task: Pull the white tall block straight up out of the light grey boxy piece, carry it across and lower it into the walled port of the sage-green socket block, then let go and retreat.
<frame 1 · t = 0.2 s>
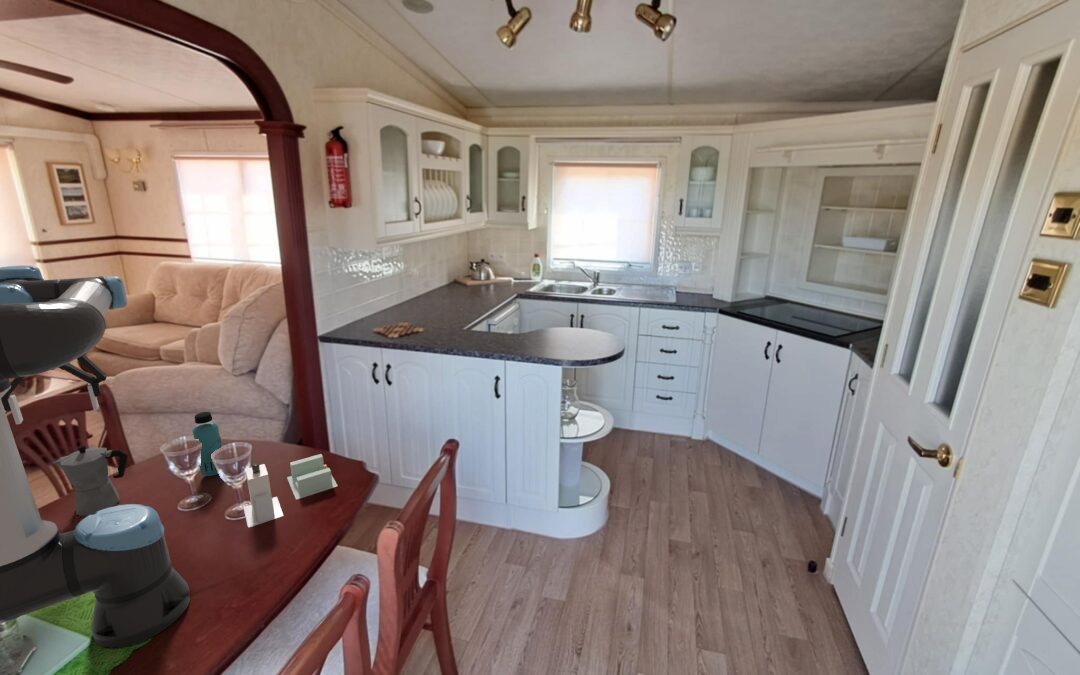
hand: (59, 415, 116), 28 cm above the table, fingers open, 13 cm apart
port: (312, 484, 138), on the table
beverage bottle: (214, 475, 142), on the table
coffeepot: (103, 505, 127), on the table
light grey boxy piece: (263, 514, 125), on the table
white tall block: (263, 511, 125), point 1 cm above the table, touching light grey boxy piece
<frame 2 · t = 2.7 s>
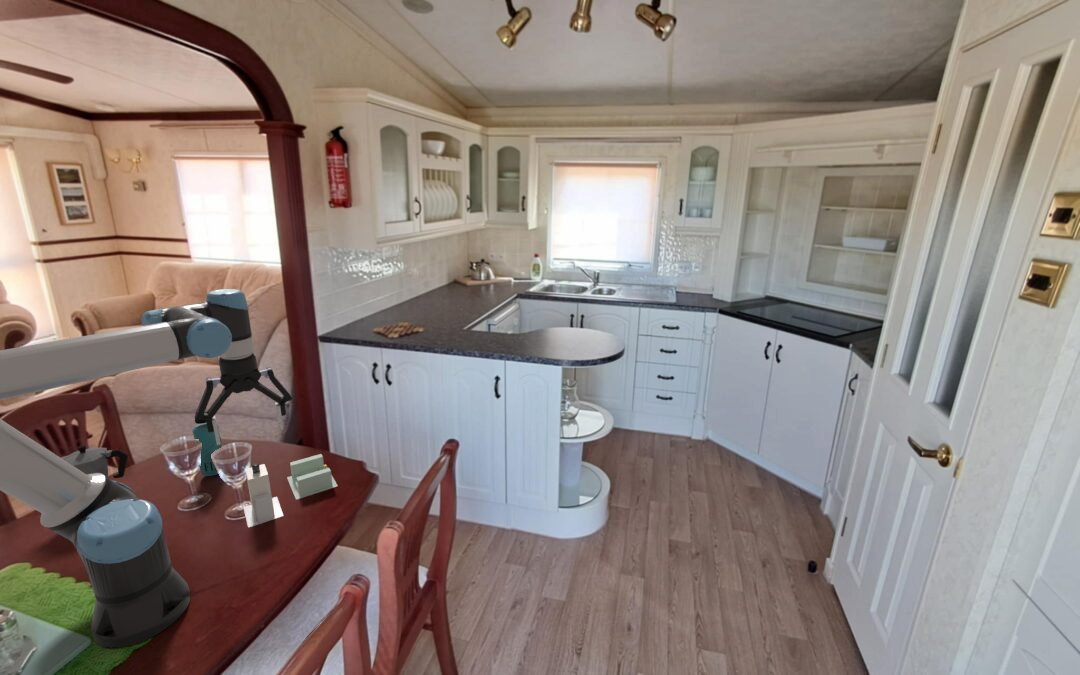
hand: (250, 434, 118), 24 cm above the table, fingers open, 13 cm apart
nothing on the table moved.
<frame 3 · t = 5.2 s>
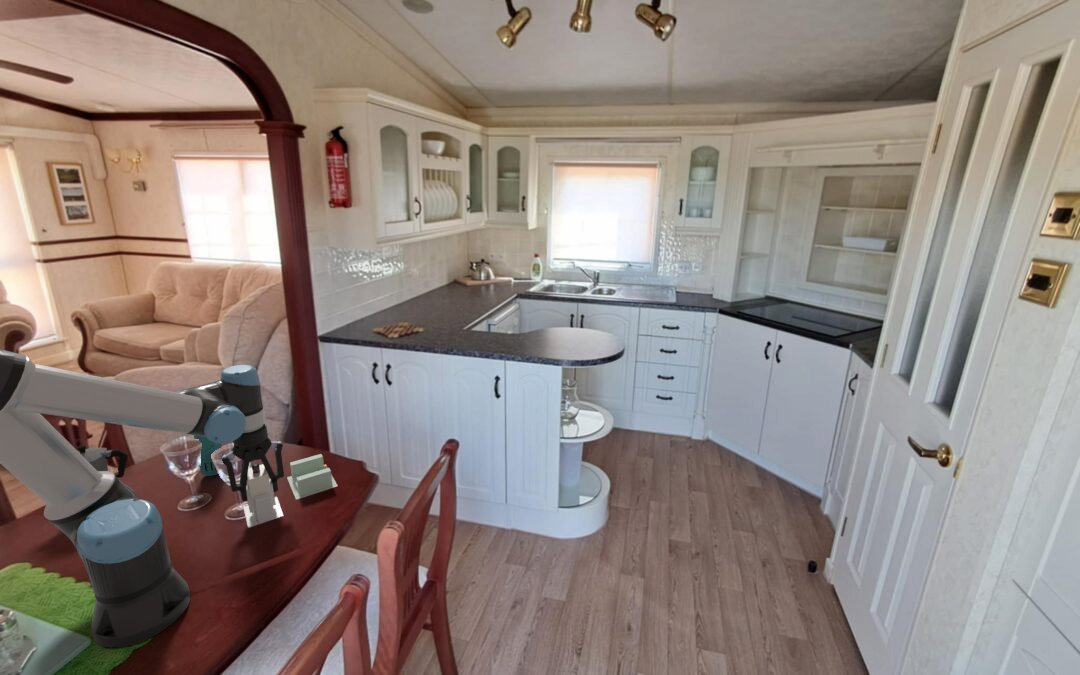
hand: (262, 505, 124), 3 cm above the table, fingers closed on white tall block, 4 cm apart
white tall block: (263, 511, 125), point 1 cm above the table, touching gripper, light grey boxy piece
everything else where it was.
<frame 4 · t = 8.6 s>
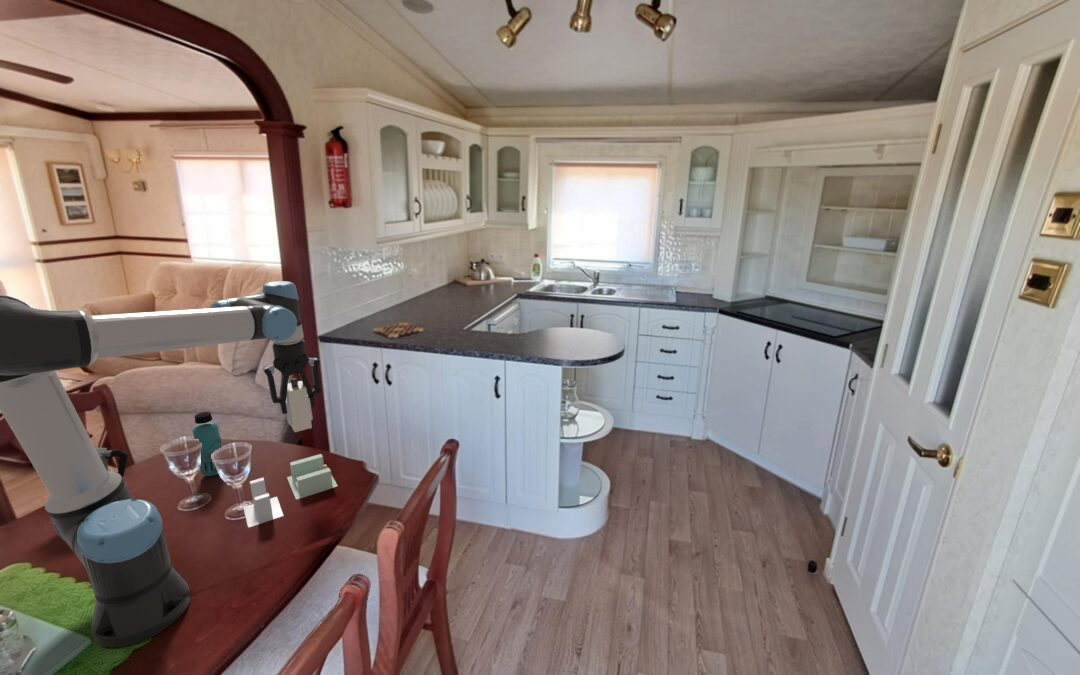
hand: (300, 420, 131), 21 cm above the table, fingers closed on white tall block, 4 cm apart
white tall block: (301, 425, 131), point 20 cm above the table, touching gripper
everything else where it was.
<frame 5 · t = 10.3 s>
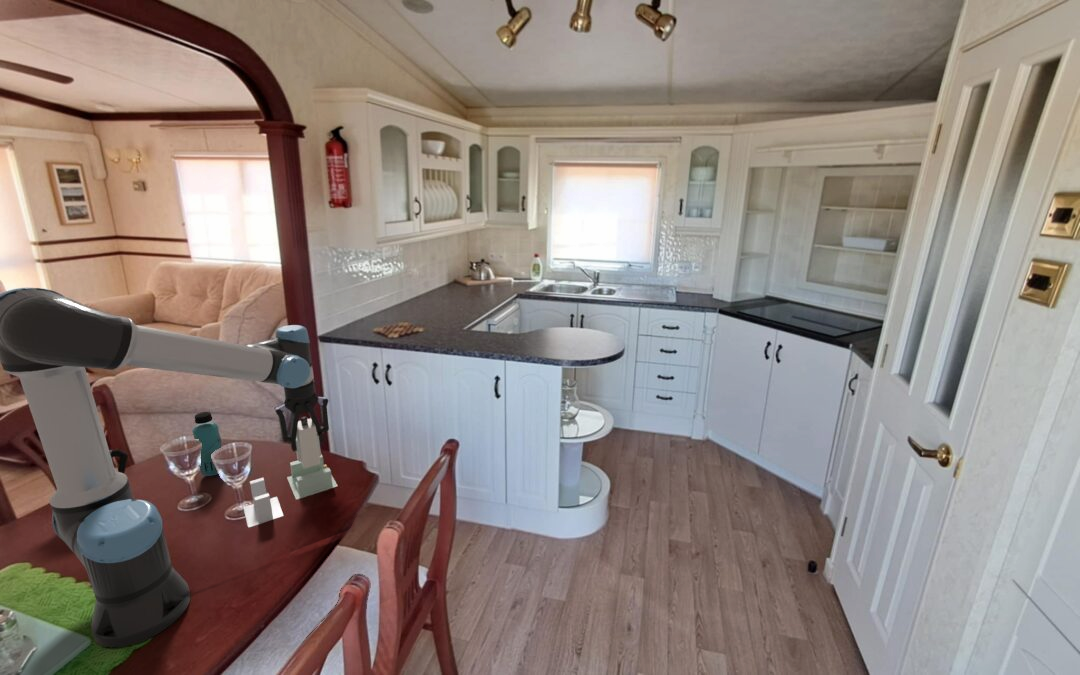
hand: (309, 456, 135), 9 cm above the table, fingers closed on white tall block, 4 cm apart
white tall block: (309, 461, 136), point 8 cm above the table, touching gripper
everything else where it was.
when the fingers open (4 cm above the table, at t = 12.0 s): white tall block stays where it is, resting on port.
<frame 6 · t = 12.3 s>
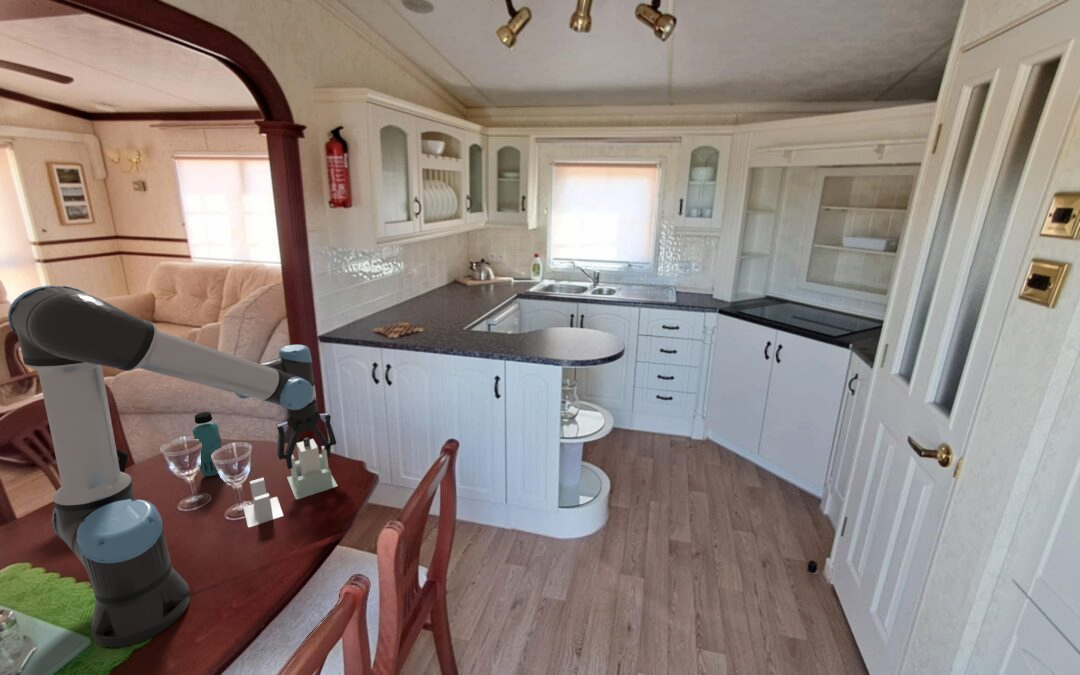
hand: (310, 472, 137), 4 cm above the table, fingers open, 8 cm apart
white tall block: (312, 481, 138), point 1 cm above the table, touching port
everything else where it was.
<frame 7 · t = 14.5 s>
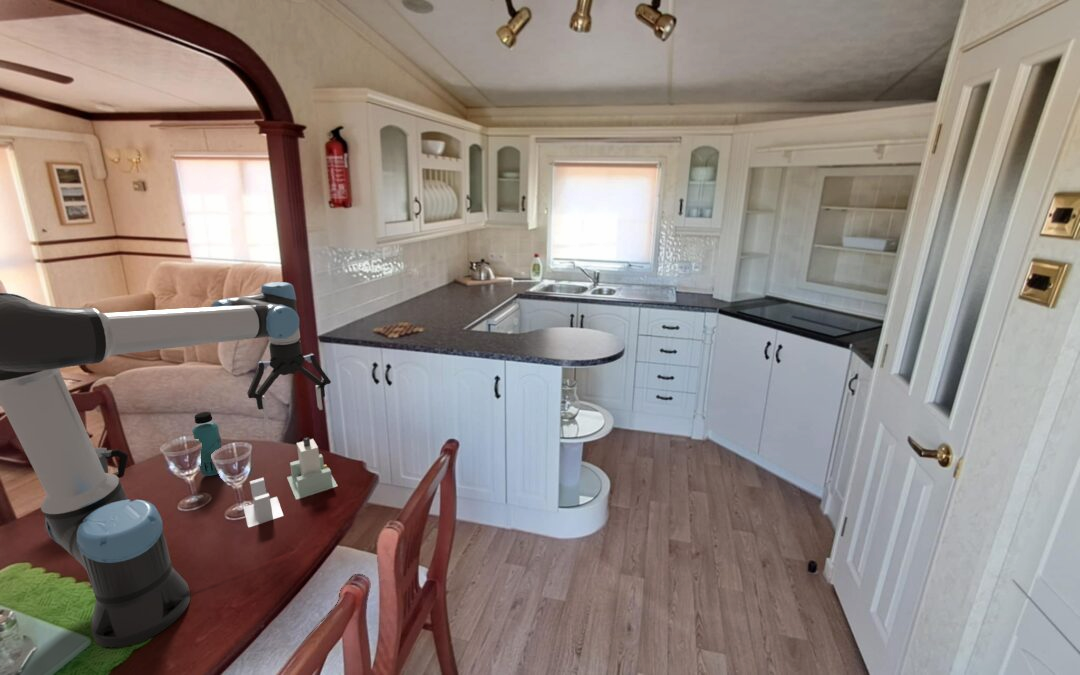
hand: (293, 413, 132), 23 cm above the table, fingers open, 13 cm apart
nothing on the table moved.
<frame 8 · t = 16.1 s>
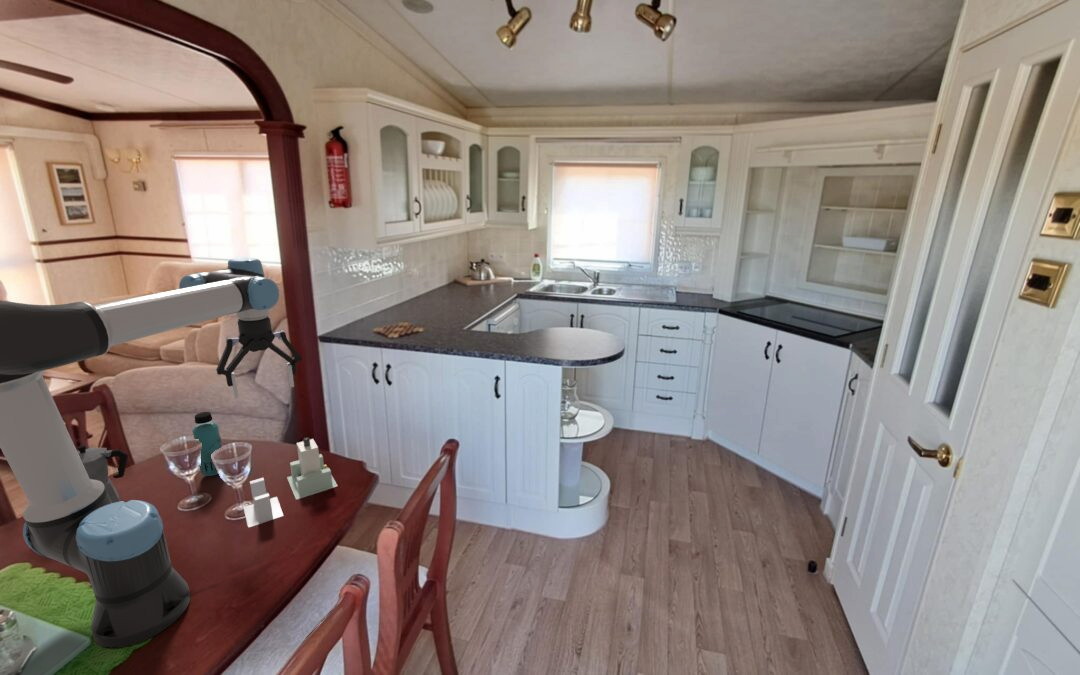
hand: (265, 390, 131), 29 cm above the table, fingers open, 13 cm apart
nothing on the table moved.
at the end: white tall block 0.0 cm off-centre on the port, point 1.0 cm above the port's base; white tall block tilted 0°; the gripper is holding nothing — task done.
